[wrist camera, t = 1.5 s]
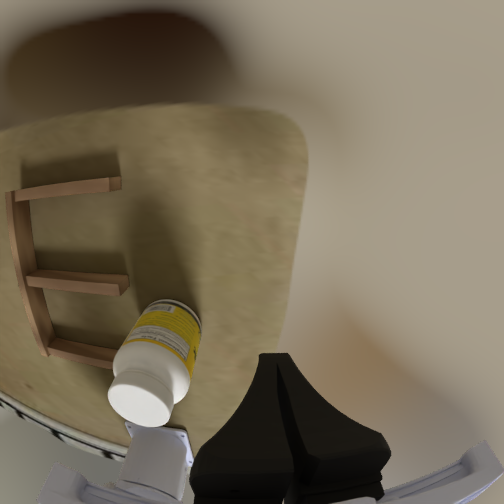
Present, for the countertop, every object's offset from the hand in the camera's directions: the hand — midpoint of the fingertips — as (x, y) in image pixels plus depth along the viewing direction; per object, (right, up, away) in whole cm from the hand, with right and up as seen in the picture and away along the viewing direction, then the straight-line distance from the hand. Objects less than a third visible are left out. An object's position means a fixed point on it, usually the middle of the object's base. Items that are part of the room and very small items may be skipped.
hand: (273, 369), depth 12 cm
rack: (-17, +3, +9) cm, 20 cm away
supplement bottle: (-8, -1, +10) cm, 13 cm away
